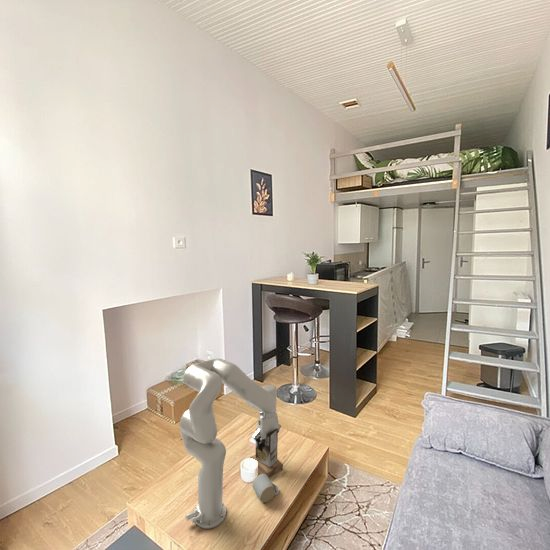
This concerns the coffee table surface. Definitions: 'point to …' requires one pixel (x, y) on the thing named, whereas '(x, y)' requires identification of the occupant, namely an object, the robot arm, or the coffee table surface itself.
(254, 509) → the coffee table surface
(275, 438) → the coffee box
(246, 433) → the coffee table surface
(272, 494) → the ceramic mug
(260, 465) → the walnut tray
